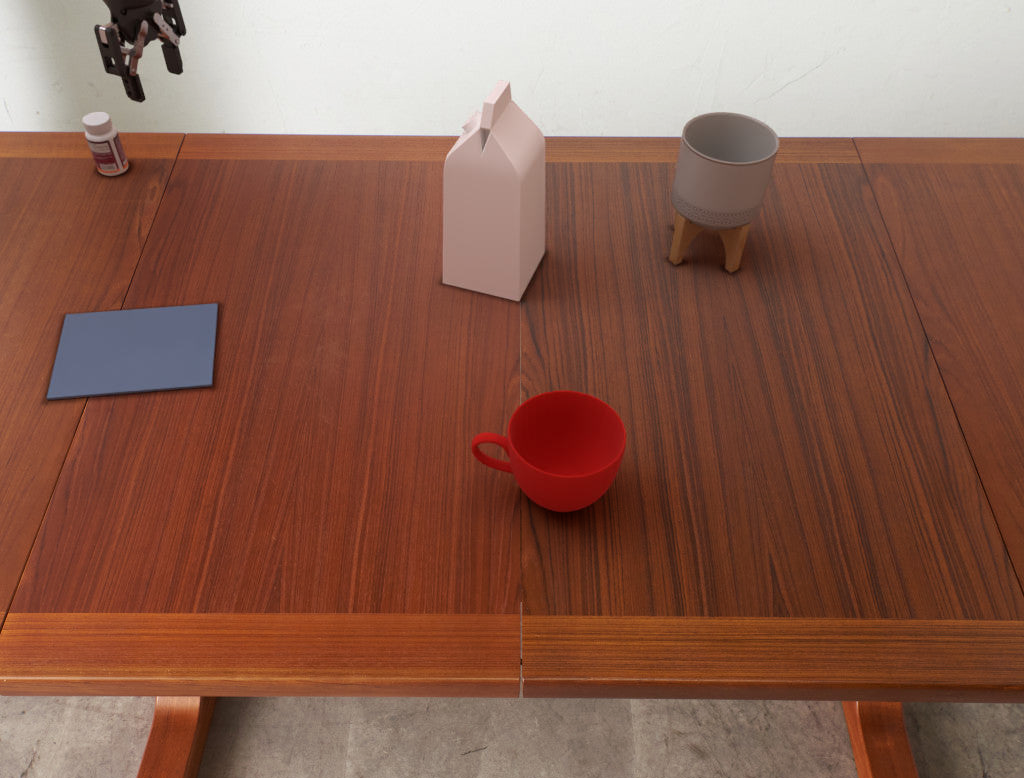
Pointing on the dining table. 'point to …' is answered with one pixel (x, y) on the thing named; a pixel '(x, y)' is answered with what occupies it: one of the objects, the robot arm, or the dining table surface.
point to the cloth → (135, 351)
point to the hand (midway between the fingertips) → (157, 86)
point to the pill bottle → (105, 144)
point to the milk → (494, 200)
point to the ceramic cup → (560, 449)
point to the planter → (721, 180)
